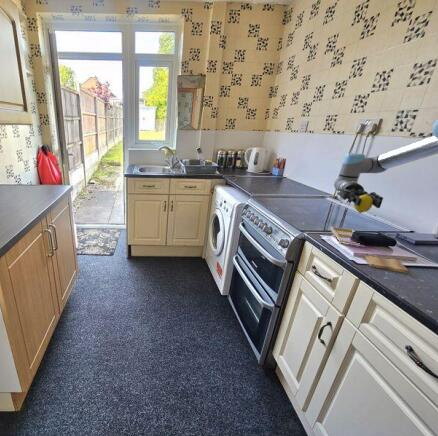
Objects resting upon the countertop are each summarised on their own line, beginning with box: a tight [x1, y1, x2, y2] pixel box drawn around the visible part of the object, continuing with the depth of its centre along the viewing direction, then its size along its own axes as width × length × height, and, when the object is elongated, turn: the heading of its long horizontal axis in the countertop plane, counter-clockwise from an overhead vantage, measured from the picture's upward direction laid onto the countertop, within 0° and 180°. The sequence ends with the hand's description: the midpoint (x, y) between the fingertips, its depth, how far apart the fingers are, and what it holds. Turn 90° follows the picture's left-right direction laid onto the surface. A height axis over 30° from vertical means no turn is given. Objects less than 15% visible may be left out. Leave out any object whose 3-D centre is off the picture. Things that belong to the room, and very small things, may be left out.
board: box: [364, 256, 410, 274], centre depth 87 cm, size 10×8×1 cm
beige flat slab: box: [329, 225, 360, 245], centre depth 107 cm, size 9×17×1 cm, turn 156°
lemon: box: [353, 194, 373, 214], centre depth 100 cm, size 6×6×8 cm
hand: (369, 203), depth 95 cm, fingers closed on lemon, 5 cm apart
